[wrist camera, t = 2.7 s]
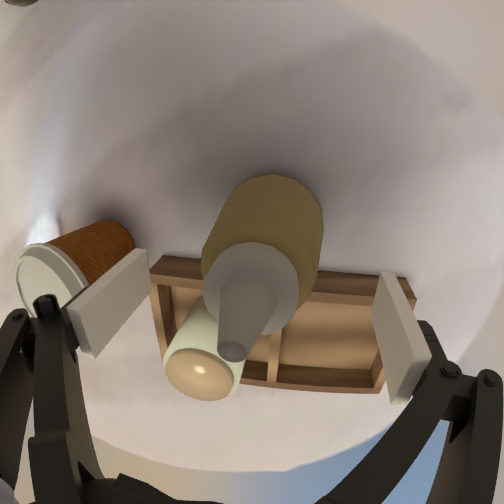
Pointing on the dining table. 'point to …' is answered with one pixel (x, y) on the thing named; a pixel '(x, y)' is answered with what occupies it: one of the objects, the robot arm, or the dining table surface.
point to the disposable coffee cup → (69, 262)
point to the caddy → (292, 330)
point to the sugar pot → (200, 358)
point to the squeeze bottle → (260, 261)
